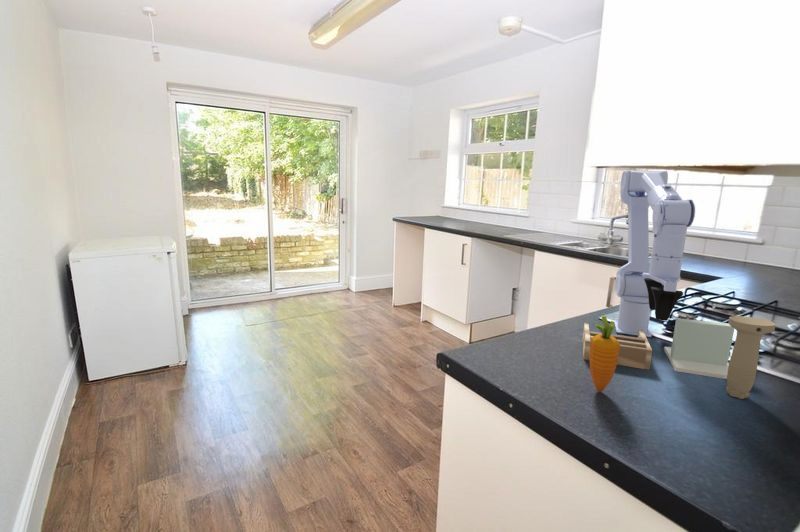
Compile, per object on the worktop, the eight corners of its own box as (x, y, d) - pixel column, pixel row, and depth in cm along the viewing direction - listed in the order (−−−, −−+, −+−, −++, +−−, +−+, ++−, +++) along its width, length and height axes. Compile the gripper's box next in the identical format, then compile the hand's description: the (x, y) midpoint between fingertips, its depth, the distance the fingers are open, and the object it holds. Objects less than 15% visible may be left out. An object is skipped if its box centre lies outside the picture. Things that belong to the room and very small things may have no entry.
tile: (663, 349, 95) (664, 346, 95) (719, 357, 91) (720, 354, 91) (675, 371, 84) (675, 367, 84) (739, 381, 80) (740, 377, 80)
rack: (582, 339, 101) (584, 319, 100) (640, 347, 96) (643, 326, 95) (583, 359, 90) (585, 336, 89) (649, 369, 85) (653, 346, 84)
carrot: (612, 401, 73) (622, 324, 70) (583, 394, 75) (591, 319, 72) (614, 389, 77) (623, 316, 74) (586, 382, 79) (594, 312, 76)
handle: (765, 404, 72) (781, 327, 68) (723, 399, 73) (738, 323, 70) (749, 391, 76) (764, 318, 73) (711, 386, 78) (724, 315, 75)
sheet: (670, 355, 90) (676, 318, 88) (723, 362, 87) (730, 323, 85) (672, 358, 88) (678, 321, 86) (727, 366, 85) (734, 326, 83)
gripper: (640, 249, 94) (633, 303, 97) (651, 259, 81) (642, 322, 84) (675, 251, 91) (667, 306, 94) (692, 262, 78) (682, 326, 81)
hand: (658, 314), depth 89 cm, fingers open, 7 cm apart
